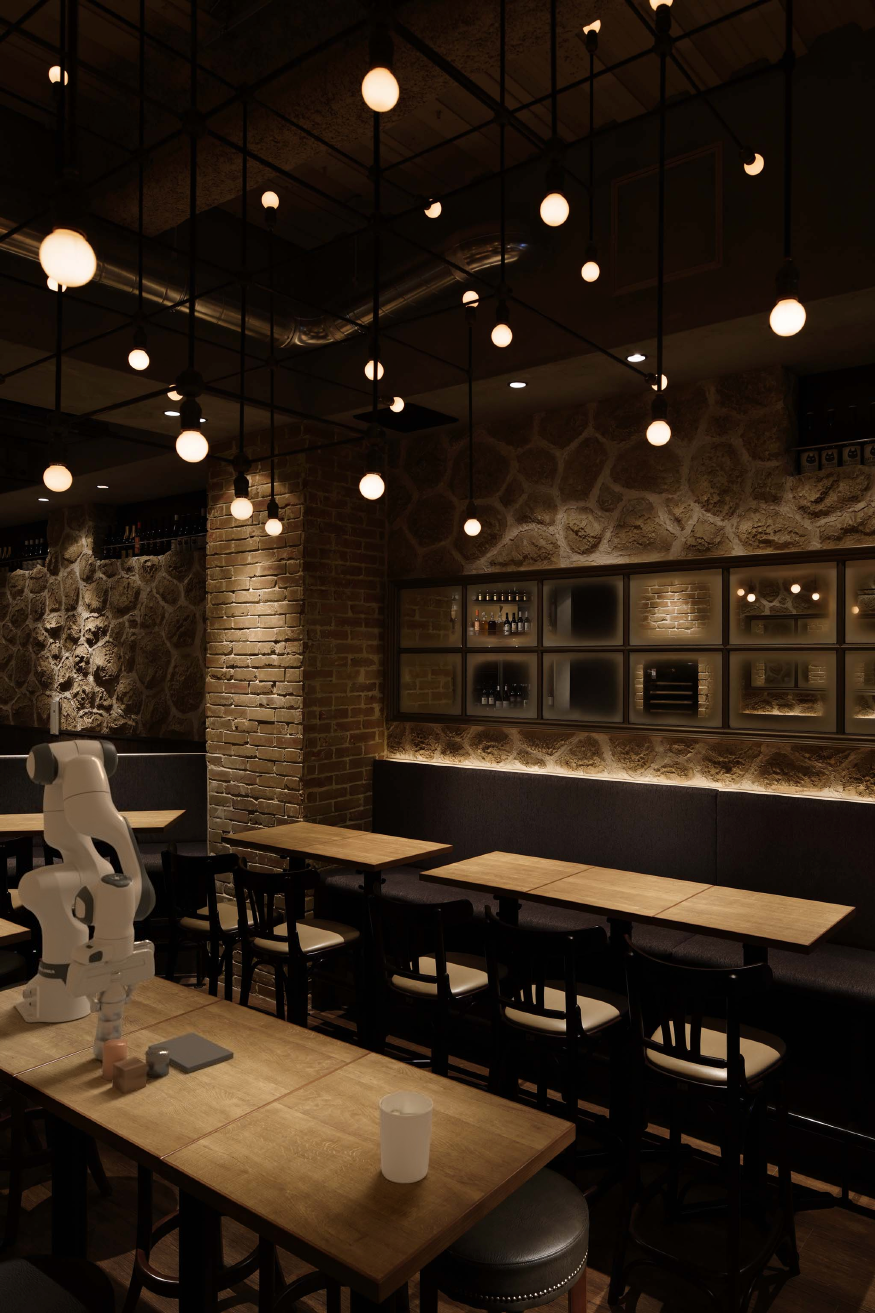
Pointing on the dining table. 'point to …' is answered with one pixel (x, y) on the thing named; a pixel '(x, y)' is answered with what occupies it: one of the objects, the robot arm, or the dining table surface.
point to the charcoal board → (194, 1052)
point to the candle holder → (405, 1135)
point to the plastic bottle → (109, 1014)
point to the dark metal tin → (157, 1062)
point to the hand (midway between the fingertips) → (110, 1007)
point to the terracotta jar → (113, 1056)
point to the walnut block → (129, 1075)
